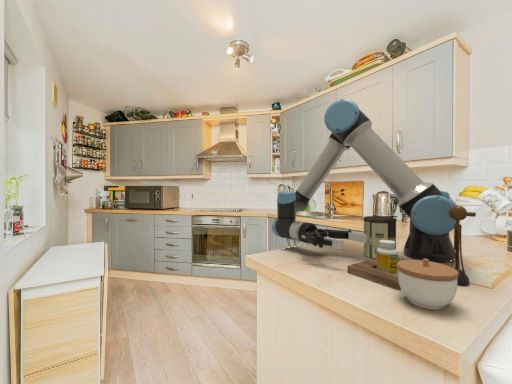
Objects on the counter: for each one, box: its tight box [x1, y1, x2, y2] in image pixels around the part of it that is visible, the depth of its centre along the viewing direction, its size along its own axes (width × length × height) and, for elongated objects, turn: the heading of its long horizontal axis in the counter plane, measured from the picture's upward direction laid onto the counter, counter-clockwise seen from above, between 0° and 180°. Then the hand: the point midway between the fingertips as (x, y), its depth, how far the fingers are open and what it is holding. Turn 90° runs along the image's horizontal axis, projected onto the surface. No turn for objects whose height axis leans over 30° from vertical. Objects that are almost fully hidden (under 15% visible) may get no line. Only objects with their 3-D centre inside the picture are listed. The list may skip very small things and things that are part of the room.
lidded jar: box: [397, 259, 458, 311], centre depth 52 cm, size 11×11×9 cm
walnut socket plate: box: [346, 258, 402, 292], centre depth 68 cm, size 15×15×2 cm
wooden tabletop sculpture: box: [449, 204, 477, 287], centre depth 62 cm, size 6×5×20 cm
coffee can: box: [362, 216, 397, 260], centre depth 85 cm, size 10×10×14 cm
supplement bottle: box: [377, 240, 399, 274], centre depth 68 cm, size 5×5×10 cm
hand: (355, 241), depth 76 cm, fingers open, 13 cm apart
